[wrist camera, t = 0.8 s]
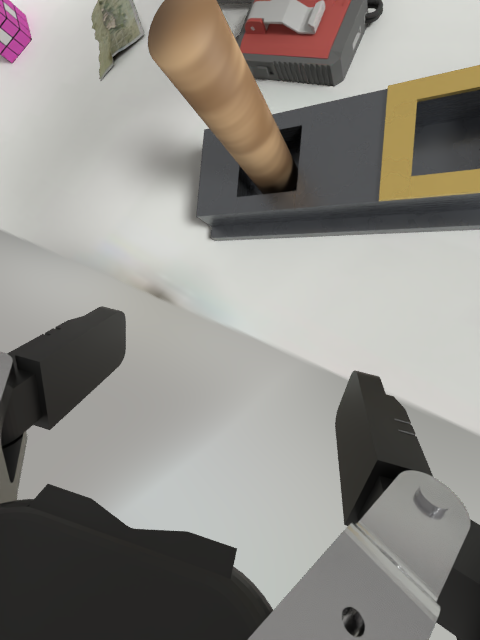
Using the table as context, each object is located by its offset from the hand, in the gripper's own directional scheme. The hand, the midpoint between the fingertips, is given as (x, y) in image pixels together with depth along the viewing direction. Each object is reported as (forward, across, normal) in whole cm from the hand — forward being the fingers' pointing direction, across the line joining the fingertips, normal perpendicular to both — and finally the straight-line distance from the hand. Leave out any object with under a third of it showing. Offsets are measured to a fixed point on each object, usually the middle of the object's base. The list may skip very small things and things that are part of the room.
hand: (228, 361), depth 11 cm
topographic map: (+42, +33, -20) cm, 57 cm away
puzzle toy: (+48, +52, -20) cm, 74 cm away
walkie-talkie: (+32, +6, -19) cm, 38 cm away
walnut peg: (+24, +2, -6) cm, 25 cm away
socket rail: (+23, -5, -7) cm, 25 cm away
